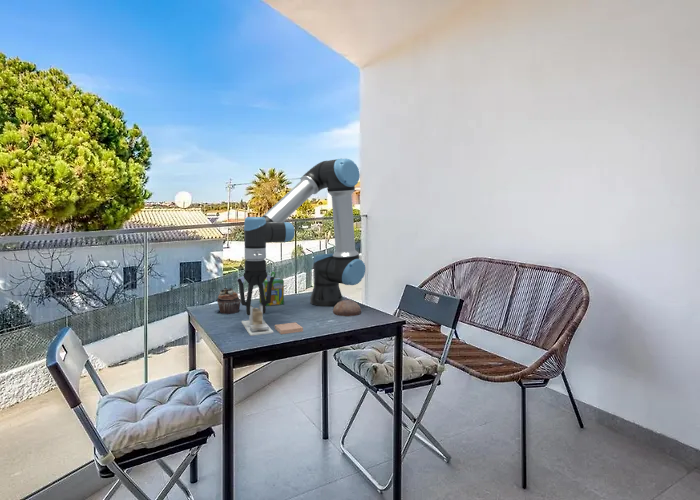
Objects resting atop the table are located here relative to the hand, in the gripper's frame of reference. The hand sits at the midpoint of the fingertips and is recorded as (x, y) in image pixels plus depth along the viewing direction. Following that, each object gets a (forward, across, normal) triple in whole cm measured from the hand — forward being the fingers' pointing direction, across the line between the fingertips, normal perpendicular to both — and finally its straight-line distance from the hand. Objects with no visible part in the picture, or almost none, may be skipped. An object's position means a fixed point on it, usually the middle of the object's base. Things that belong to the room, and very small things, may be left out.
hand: (256, 322), depth 149 cm
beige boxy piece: (0, 0, -2) cm, 2 cm away
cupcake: (+2, -6, +28) cm, 29 cm away
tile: (+1, +10, -4) cm, 11 cm away
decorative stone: (+2, +40, +7) cm, 40 cm away
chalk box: (+2, +14, +36) cm, 39 cm away
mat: (+2, 0, 0) cm, 2 cm away
